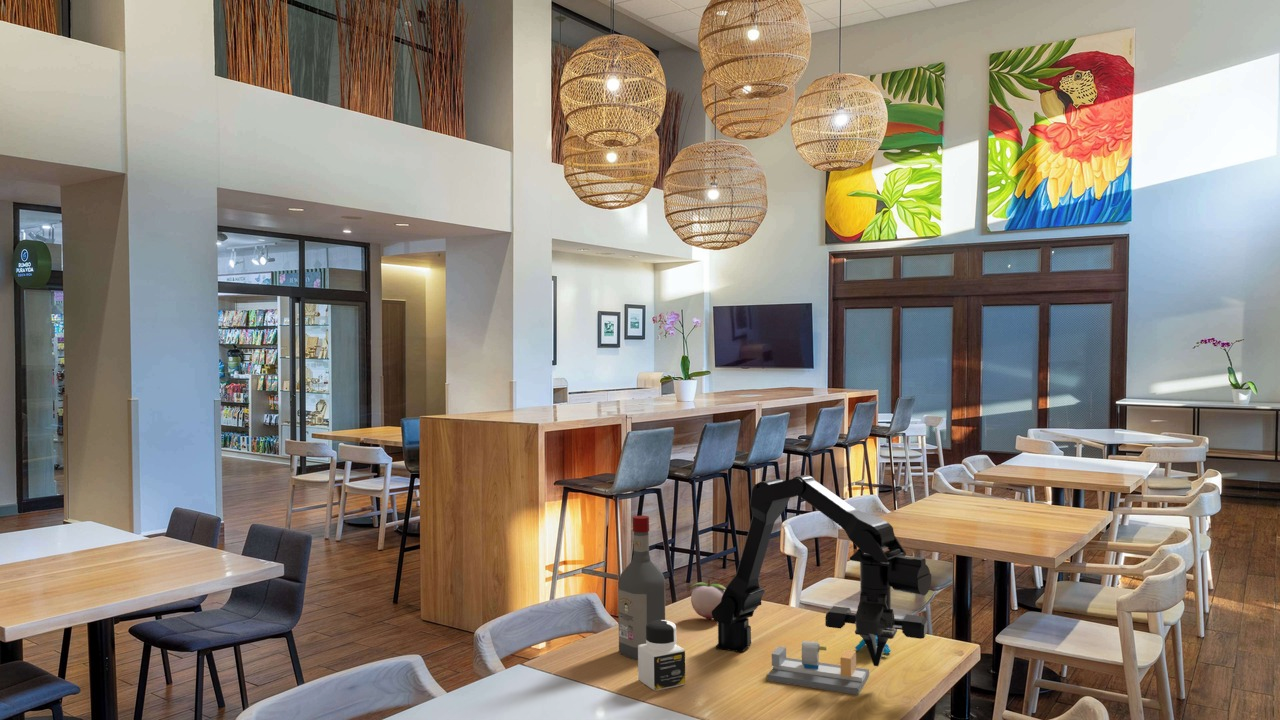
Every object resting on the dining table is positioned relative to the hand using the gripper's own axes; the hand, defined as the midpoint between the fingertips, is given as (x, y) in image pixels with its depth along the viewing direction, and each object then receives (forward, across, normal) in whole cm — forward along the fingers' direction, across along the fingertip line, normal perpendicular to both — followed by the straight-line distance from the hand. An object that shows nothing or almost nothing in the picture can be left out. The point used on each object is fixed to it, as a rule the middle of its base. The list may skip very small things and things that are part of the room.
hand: (876, 665), depth 164 cm
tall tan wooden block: (+2, -5, 0) cm, 6 cm away
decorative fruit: (+4, -45, +27) cm, 53 cm away
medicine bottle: (+4, -40, -15) cm, 42 cm away
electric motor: (+2, -12, 0) cm, 13 cm away
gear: (+4, -5, +21) cm, 22 cm away
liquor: (+4, -50, -1) cm, 51 cm away
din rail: (+4, -11, 0) cm, 12 cm away
